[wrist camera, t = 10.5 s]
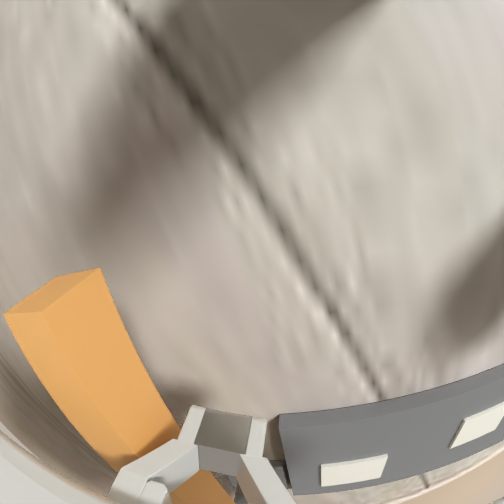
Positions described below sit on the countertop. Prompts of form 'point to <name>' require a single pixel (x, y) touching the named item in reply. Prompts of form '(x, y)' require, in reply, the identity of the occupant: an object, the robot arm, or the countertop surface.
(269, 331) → the countertop surface
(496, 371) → the tray
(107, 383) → the strip
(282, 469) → the pivot post
